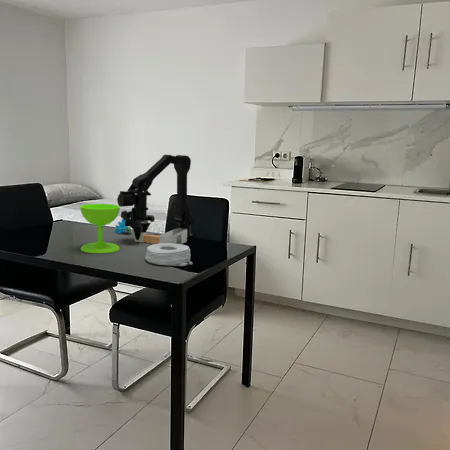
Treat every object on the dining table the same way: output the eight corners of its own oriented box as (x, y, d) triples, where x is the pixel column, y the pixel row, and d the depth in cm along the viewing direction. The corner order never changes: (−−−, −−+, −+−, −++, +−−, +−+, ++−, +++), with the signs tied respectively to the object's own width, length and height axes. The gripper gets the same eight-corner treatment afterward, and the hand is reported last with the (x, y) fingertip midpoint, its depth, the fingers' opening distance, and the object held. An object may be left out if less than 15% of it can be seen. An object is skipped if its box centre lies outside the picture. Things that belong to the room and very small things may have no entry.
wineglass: (93, 255, 180) (93, 210, 177) (73, 247, 190) (72, 205, 187) (127, 249, 191) (127, 207, 188) (106, 242, 202) (106, 203, 199)
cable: (194, 266, 170) (195, 251, 169) (147, 268, 166) (148, 252, 165) (185, 255, 187) (186, 241, 186) (143, 256, 182) (143, 241, 181)
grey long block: (177, 240, 214) (177, 228, 213) (186, 241, 213) (187, 229, 212) (159, 248, 195) (159, 235, 194) (169, 250, 194) (170, 236, 193)
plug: (138, 240, 211) (138, 231, 210) (164, 242, 207) (164, 234, 207) (134, 241, 207) (134, 233, 206) (160, 244, 203) (161, 235, 203)
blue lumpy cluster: (110, 228, 227) (124, 214, 229) (117, 235, 231) (131, 221, 233) (120, 235, 219) (134, 220, 221) (127, 242, 223) (141, 228, 225)
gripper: (134, 202, 217) (133, 233, 219) (114, 206, 199) (113, 241, 202) (155, 203, 214) (154, 236, 216) (136, 208, 196) (136, 243, 199)
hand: (139, 239), depth 208 cm, fingers closed on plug, 4 cm apart
